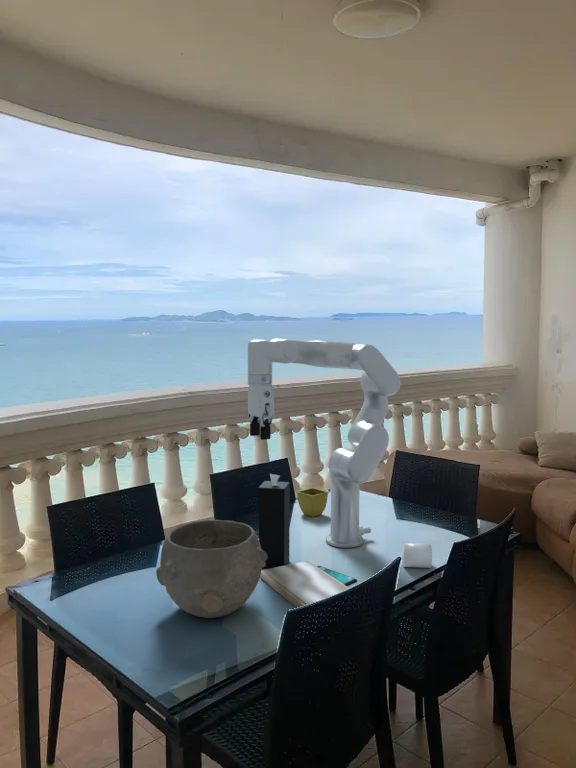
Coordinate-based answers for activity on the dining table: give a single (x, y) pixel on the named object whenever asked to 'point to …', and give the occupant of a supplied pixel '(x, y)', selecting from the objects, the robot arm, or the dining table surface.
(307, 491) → the flower pot
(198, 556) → the bowl
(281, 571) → the tray
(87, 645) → the dining table surface
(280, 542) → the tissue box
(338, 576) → the smartphone
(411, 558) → the white rounded cube
